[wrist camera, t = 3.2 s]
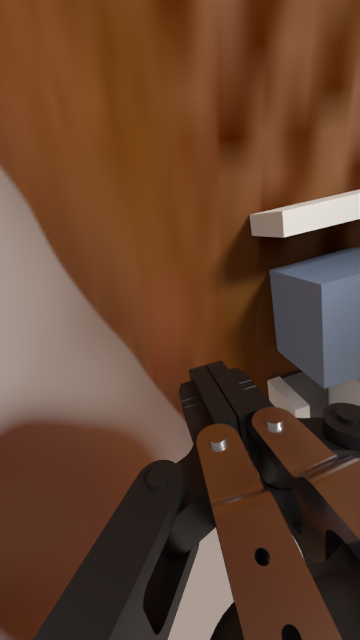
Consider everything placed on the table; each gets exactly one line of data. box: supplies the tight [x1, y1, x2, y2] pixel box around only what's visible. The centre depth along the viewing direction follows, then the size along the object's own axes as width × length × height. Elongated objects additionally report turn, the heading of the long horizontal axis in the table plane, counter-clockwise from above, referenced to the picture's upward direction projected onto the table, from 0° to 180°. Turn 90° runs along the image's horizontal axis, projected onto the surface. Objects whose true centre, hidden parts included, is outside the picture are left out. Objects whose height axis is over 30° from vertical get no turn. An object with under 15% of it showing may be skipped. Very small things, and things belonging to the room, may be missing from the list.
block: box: [269, 247, 360, 389], centre depth 16 cm, size 6×6×5 cm
